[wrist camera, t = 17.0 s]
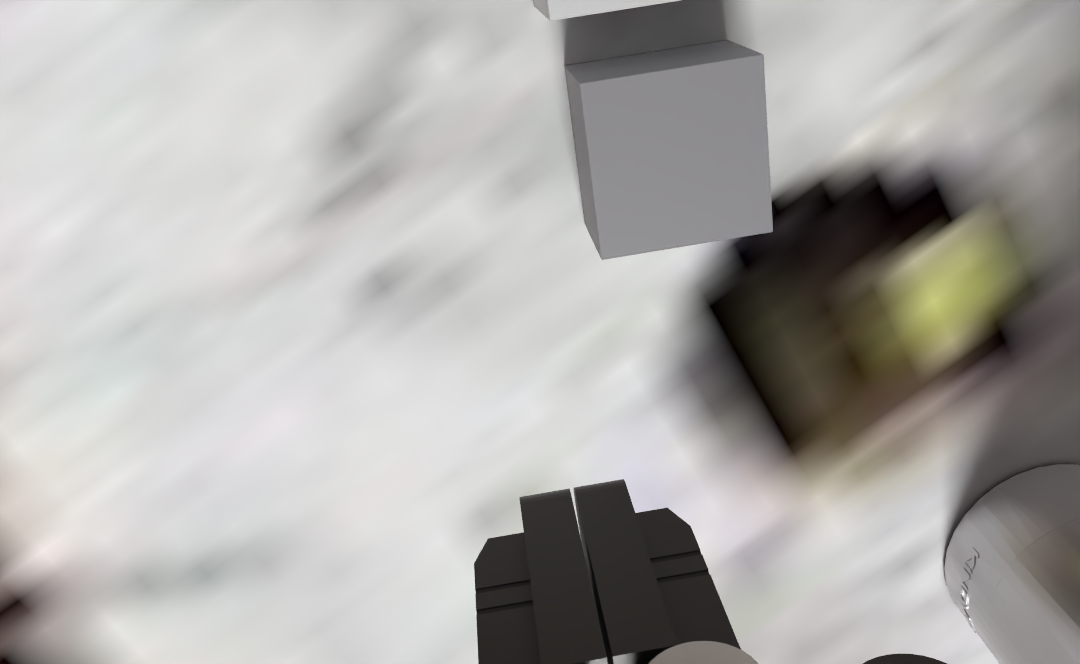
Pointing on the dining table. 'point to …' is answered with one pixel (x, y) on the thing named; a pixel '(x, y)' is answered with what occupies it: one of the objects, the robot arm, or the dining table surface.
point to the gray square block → (671, 147)
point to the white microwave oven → (587, 7)
